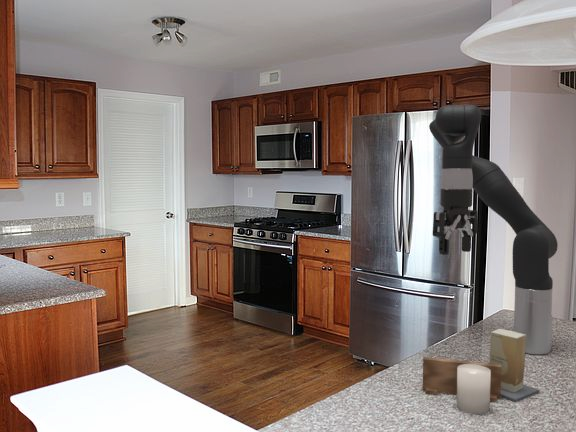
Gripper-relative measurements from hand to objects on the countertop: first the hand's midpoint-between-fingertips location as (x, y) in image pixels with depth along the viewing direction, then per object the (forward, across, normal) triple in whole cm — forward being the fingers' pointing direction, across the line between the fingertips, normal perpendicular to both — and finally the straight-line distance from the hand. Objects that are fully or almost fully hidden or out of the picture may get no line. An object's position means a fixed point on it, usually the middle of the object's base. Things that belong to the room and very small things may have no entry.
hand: (455, 252), depth 134 cm
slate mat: (+28, +4, +18) cm, 34 cm away
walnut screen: (+28, +14, +13) cm, 34 cm away
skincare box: (+28, +4, +17) cm, 33 cm away
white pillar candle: (+28, +18, +19) cm, 38 cm away
